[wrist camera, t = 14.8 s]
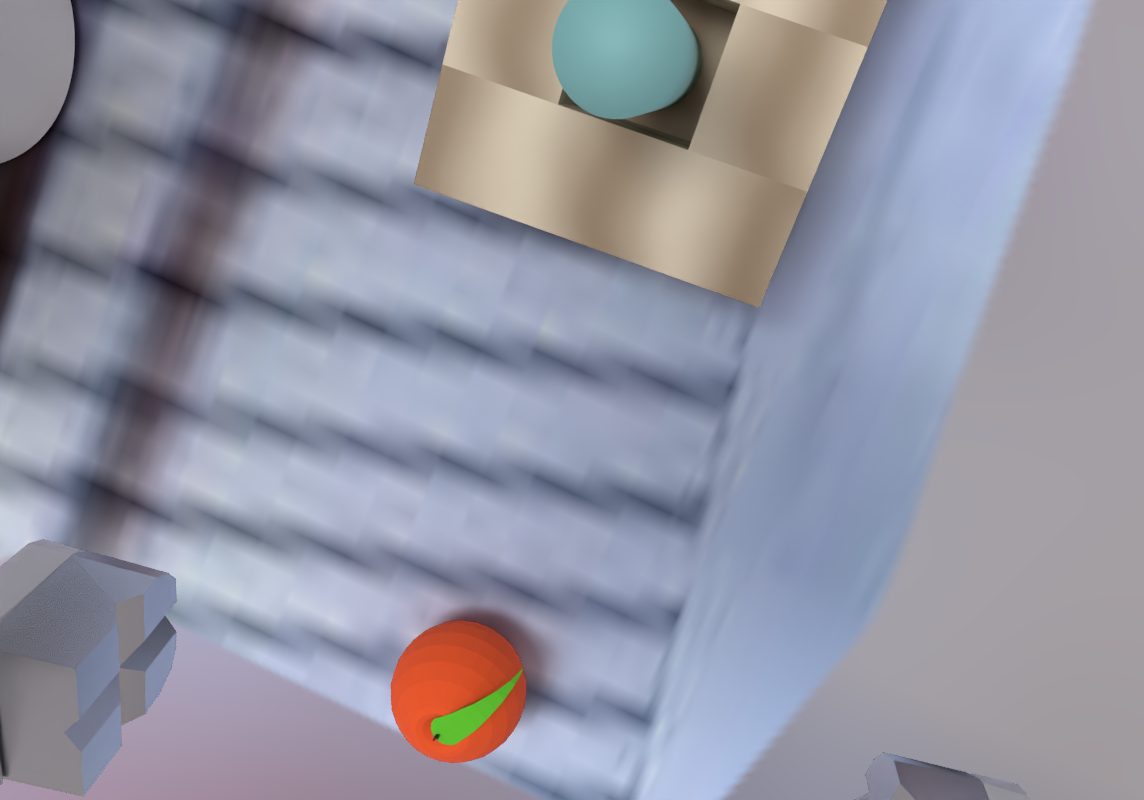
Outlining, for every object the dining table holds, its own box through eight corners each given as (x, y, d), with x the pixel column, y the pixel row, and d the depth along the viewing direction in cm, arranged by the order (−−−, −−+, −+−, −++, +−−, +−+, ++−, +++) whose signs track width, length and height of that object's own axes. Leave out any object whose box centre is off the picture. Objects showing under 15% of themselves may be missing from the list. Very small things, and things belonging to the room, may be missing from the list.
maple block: (460, 170, 39) (413, 183, 33) (551, -182, 33) (514, -236, 28) (755, 275, 38) (759, 307, 32) (896, -68, 33) (929, -101, 27)
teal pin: (600, 92, 35) (536, 94, 24) (628, -1, 34) (575, -44, 23) (683, 120, 35) (657, 137, 24) (715, 28, 33) (704, -1, 22)
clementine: (504, 565, 45) (465, 646, 39) (580, 663, 46) (553, 758, 40) (393, 627, 48) (338, 713, 41) (467, 718, 49) (425, 816, 43)
